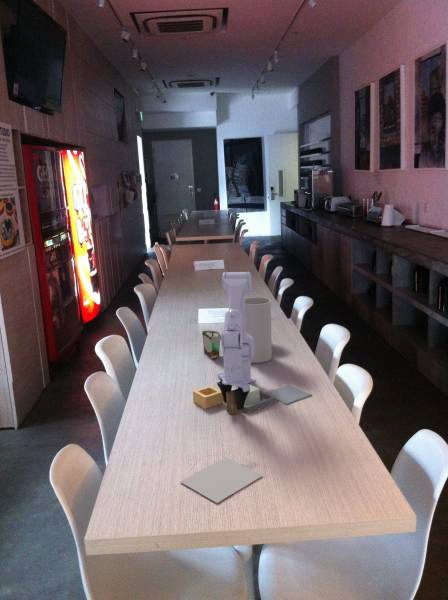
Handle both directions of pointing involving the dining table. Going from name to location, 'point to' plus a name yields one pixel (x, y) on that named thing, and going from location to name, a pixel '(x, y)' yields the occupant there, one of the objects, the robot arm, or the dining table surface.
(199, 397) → the socket
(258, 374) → the dining table surface
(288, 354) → the dining table surface
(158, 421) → the dining table surface
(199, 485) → the grey square panel
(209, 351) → the food container
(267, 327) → the cylinder vase
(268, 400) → the grey square frame
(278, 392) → the slate mat
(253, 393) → the block
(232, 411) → the rod
